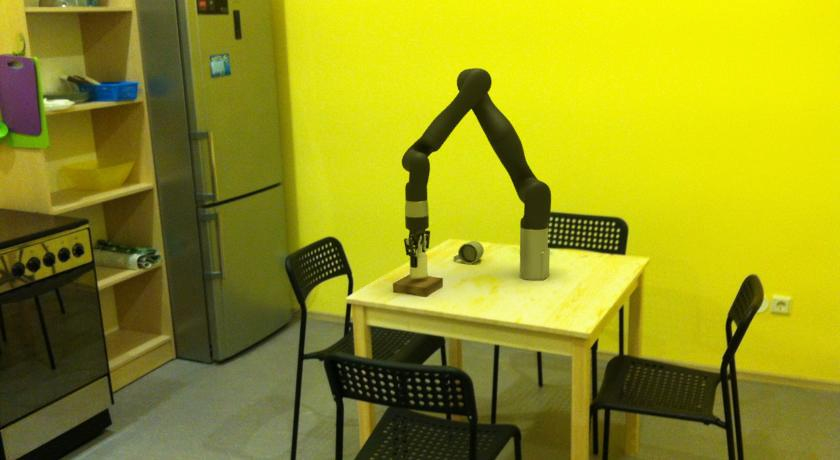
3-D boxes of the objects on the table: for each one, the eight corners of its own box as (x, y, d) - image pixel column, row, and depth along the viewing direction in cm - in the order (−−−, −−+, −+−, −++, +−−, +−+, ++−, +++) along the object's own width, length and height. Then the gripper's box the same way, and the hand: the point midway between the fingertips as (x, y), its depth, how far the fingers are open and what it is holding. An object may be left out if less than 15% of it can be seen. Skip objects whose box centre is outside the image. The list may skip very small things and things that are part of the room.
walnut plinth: (442, 286, 266) (442, 277, 265) (426, 297, 256) (426, 287, 255) (410, 282, 271) (410, 273, 271) (393, 292, 261) (392, 283, 260)
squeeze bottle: (425, 279, 260) (425, 243, 257) (408, 278, 261) (407, 242, 258) (428, 275, 264) (428, 239, 261) (412, 274, 265) (411, 239, 262)
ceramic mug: (485, 259, 298) (484, 239, 296) (477, 265, 290) (477, 244, 289) (458, 257, 302) (457, 237, 300) (450, 263, 295) (449, 242, 293)
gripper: (416, 219, 250) (418, 272, 254) (437, 210, 262) (438, 261, 266) (395, 217, 253) (397, 269, 257) (416, 208, 266) (418, 258, 269)
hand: (418, 265), depth 262 cm, fingers closed on squeeze bottle, 4 cm apart
